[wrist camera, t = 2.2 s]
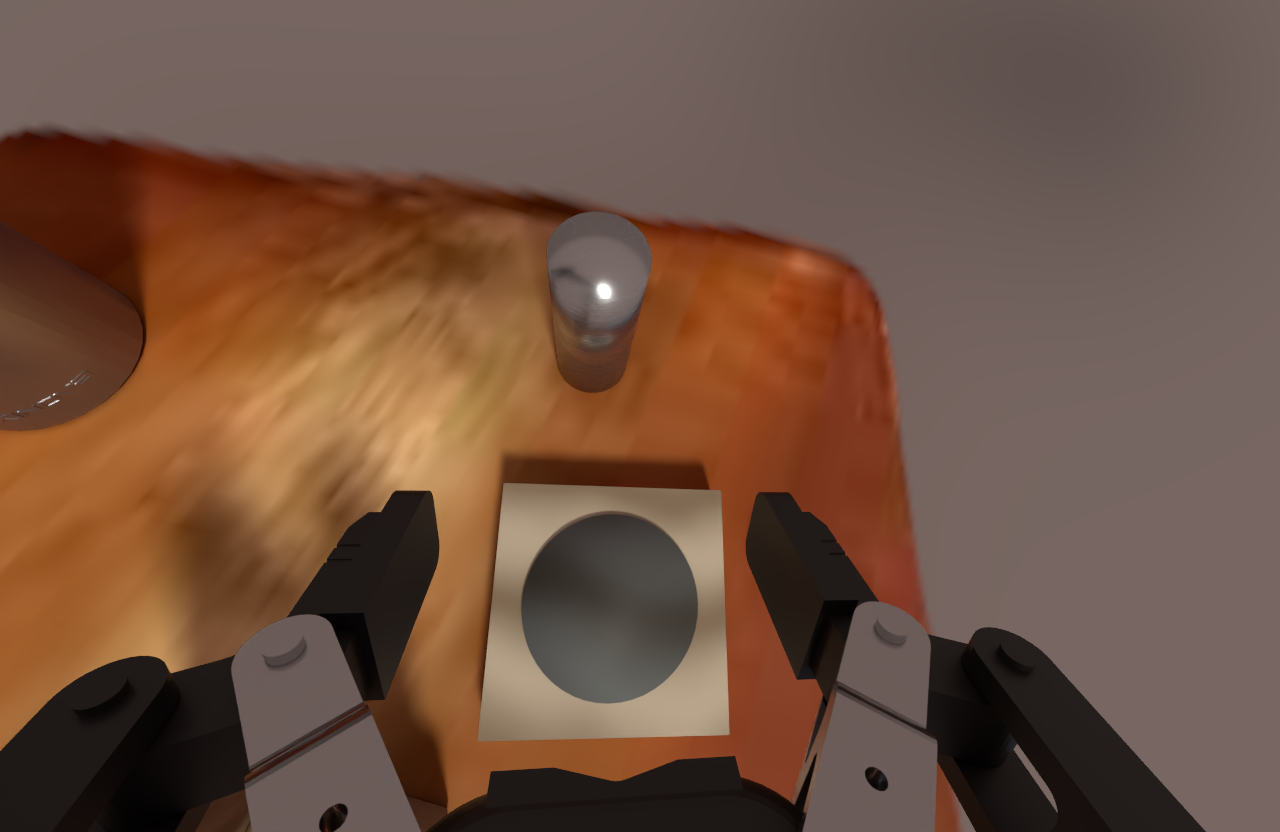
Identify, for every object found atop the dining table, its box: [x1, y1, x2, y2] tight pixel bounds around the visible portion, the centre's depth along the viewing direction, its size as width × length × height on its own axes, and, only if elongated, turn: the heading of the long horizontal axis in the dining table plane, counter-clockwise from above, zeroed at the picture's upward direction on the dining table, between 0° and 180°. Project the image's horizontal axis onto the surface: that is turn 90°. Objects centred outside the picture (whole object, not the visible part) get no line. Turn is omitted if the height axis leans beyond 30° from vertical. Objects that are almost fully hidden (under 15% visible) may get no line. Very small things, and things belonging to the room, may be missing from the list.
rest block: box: [478, 483, 729, 741], centre depth 25 cm, size 12×12×2 cm
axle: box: [547, 212, 652, 393], centre depth 25 cm, size 4×4×11 cm
